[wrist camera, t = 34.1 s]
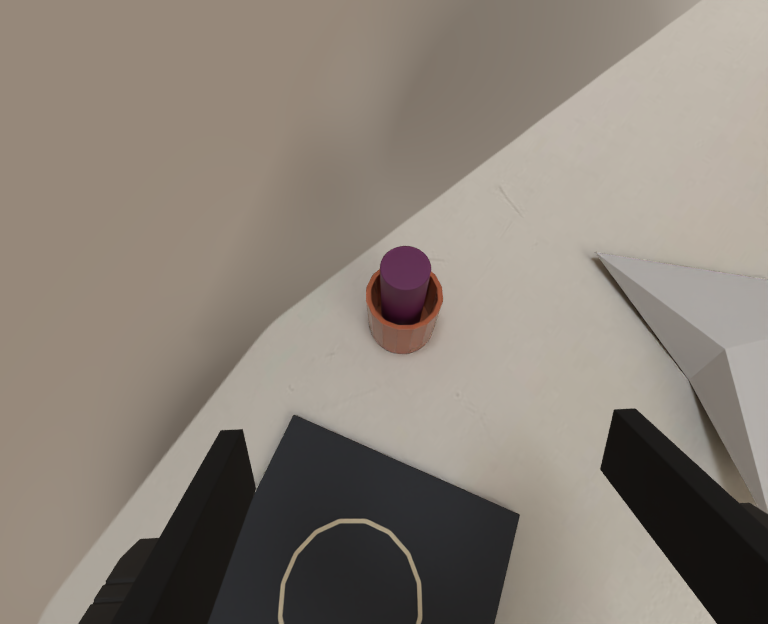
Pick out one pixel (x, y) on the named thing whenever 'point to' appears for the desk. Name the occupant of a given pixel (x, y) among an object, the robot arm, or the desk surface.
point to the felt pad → (362, 542)
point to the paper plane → (712, 348)
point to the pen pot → (403, 336)
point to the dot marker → (404, 284)
